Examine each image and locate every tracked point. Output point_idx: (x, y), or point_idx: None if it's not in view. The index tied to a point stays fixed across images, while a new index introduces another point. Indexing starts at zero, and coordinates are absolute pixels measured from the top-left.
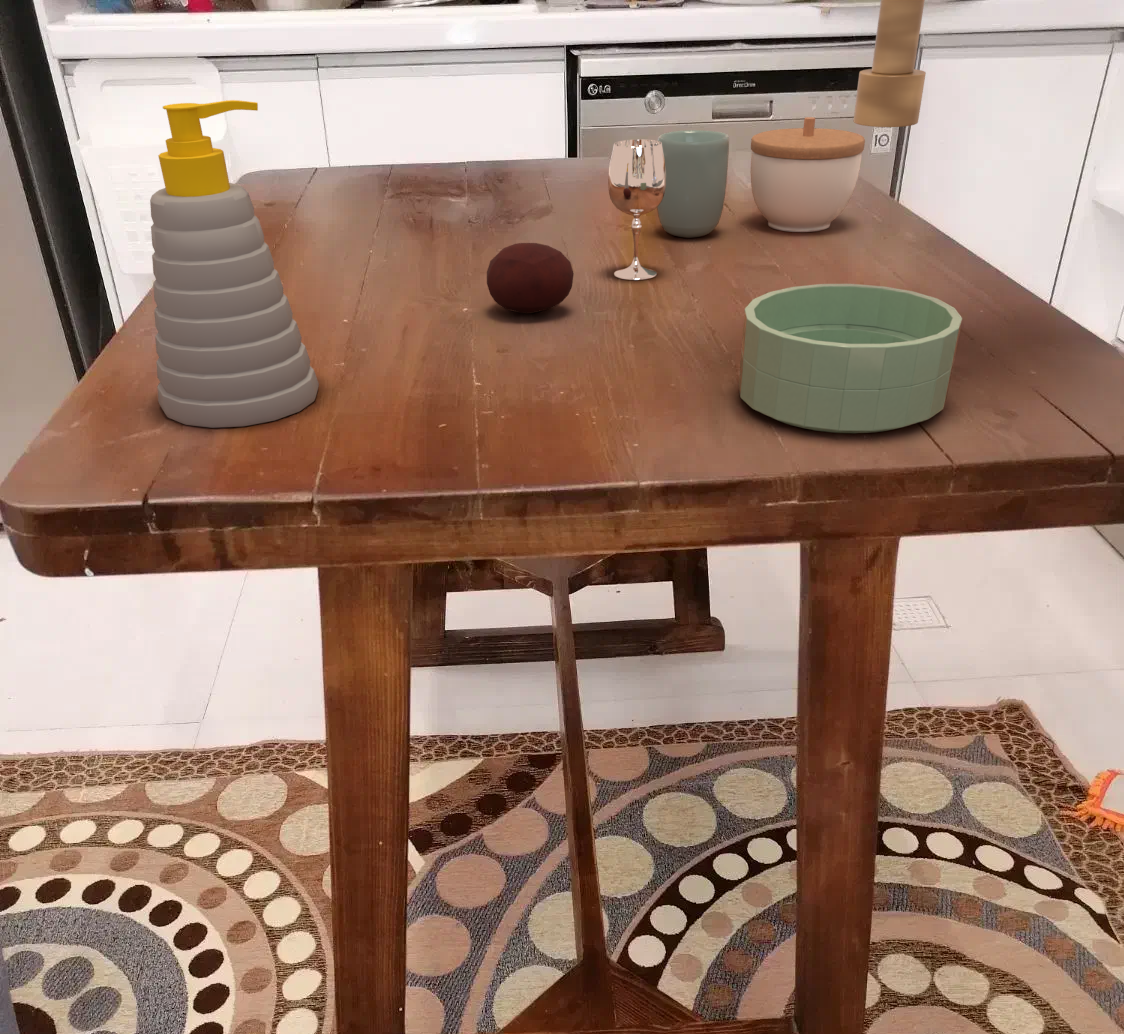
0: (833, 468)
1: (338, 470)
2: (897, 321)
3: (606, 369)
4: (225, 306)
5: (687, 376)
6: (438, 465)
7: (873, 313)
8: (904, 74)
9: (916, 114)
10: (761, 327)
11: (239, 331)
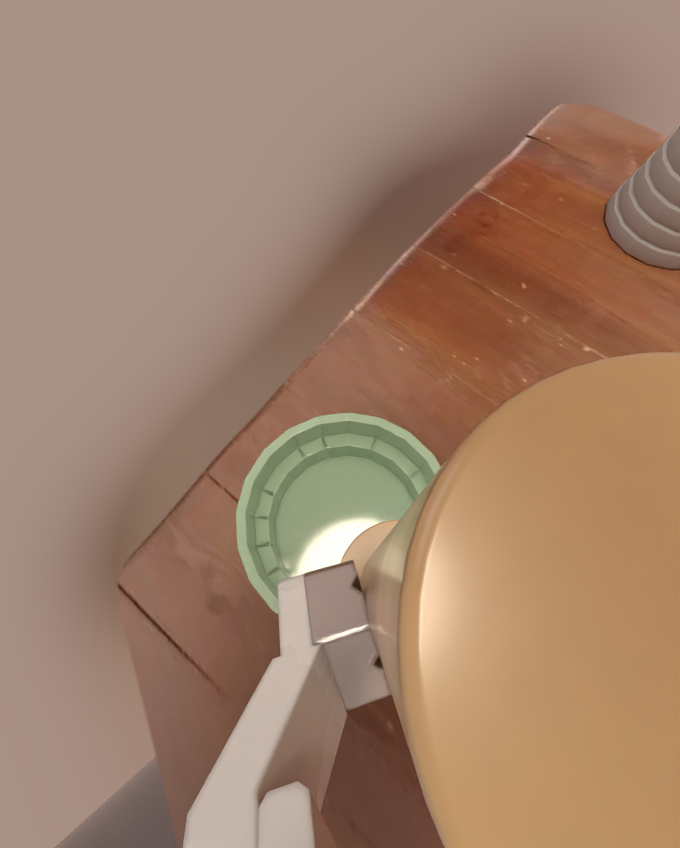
0: (271, 409)
1: (499, 211)
2: None
3: None
4: (672, 138)
5: None
6: (465, 250)
7: None
8: (361, 567)
9: None
10: (380, 419)
11: (655, 159)
